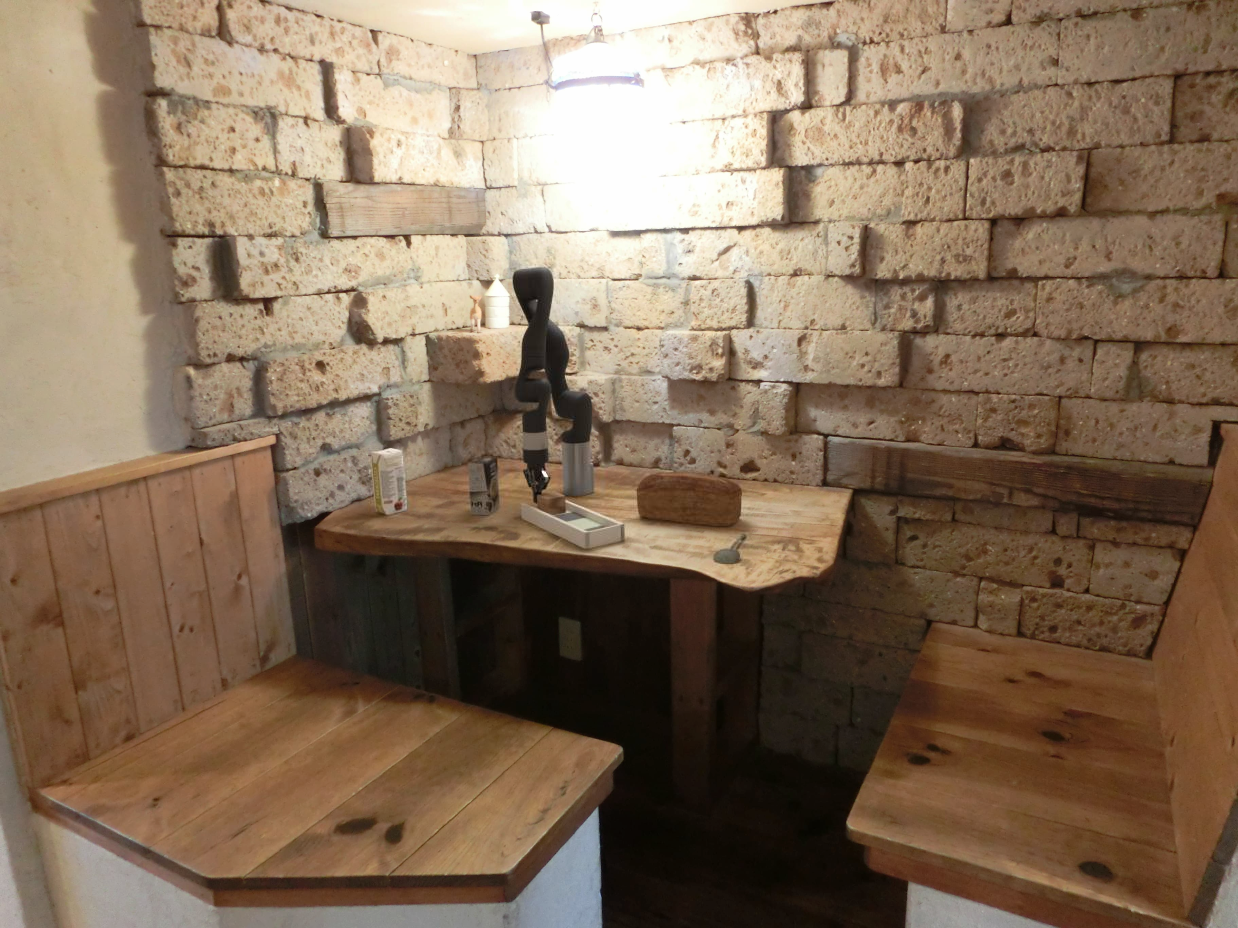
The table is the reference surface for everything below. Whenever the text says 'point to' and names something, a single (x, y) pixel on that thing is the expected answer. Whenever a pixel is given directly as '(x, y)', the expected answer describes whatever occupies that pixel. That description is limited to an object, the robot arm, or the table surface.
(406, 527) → the table surface
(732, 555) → the soupspoon
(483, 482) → the coffee box
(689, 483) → the bread
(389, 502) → the juice carton
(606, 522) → the track
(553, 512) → the walnut block
